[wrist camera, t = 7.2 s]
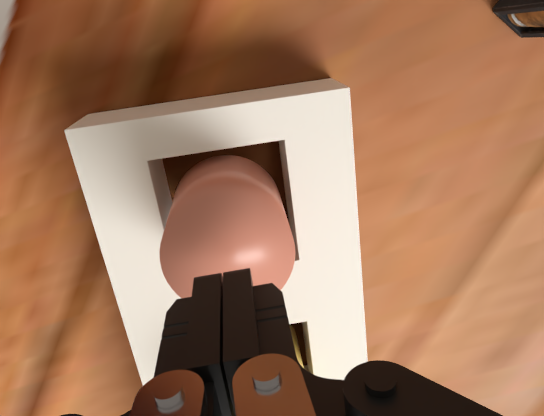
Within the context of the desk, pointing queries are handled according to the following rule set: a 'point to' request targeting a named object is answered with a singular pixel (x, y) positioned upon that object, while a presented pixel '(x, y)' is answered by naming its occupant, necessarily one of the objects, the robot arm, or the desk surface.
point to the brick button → (226, 225)
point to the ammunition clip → (522, 16)
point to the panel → (299, 197)
